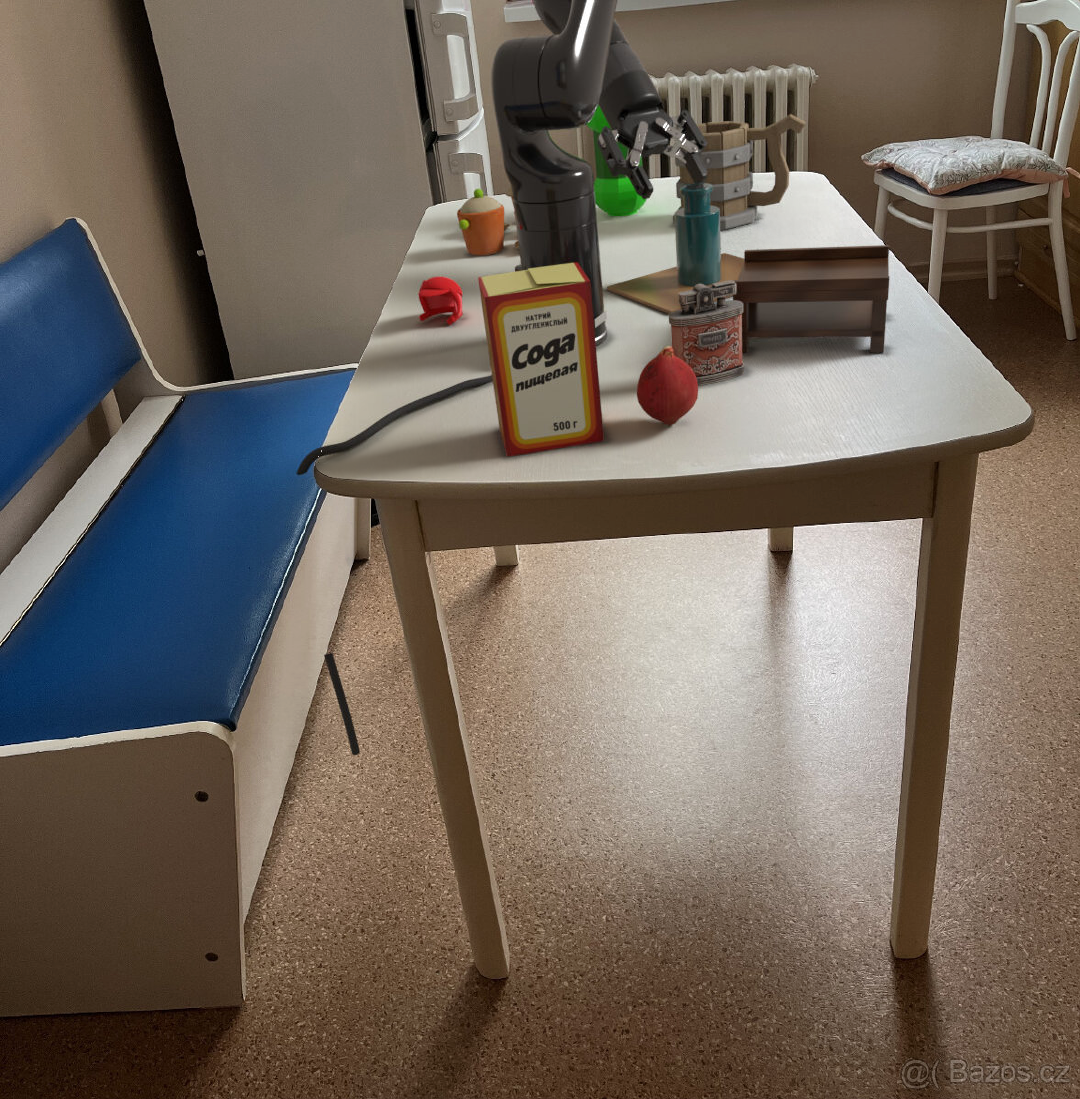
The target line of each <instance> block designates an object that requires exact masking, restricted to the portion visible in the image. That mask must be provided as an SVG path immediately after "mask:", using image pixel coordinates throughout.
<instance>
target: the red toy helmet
mask: <svg viewBox="0 0 1080 1099" xmlns="http://www.w3.org/2000/svg"><path fill="white" fill-rule="evenodd" d="M417 295H418V301H419V303H420V305H421V308H422V310H423V313H421V314H420V315H419V318H418V319H419V321H420V322H423V321H425V320H426V321H427V320H428V319H429V318H431V317H434V316H436V315H442V314H449V313H451V315H450V316H449V317H448V318H447V320H446V323H447V324H448V325H450V326H451V325H453V323H456V321H458V320H459V319H461V317H462V316H463V314H464V310H463V290H462V287H461V286H460V285H459V284H458V283H457V282H456V281H455V280H454V279H451V278H449V277H446V276H433V277H430V278H428V279H426V280H423V281H422V283H421V286H420V287H419V290H418V294H417Z"/></svg>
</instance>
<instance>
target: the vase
mask: <svg viewBox="0 0 1080 1099" xmlns="http://www.w3.org/2000/svg"><path fill="white" fill-rule="evenodd" d="M712 191H713V185H712V184H708V183H696V184H689V185H685V186H682V187H681V188H680V194H682V195H683V201H684V208H682V209H679V208H678V209H679V210H678V209H677V210H676V211H675V212H674V214H675V225H674V231H675V253H676V254H675V256H676V267H677V281H678V283H679V284H682V285H685V286H695V285H696V284H703V285H710V284H714V283H716V282H718V281H720V280H721V254H722V247H721V246H722V243H721V241H722V240H721V239H722V238H721V230H720V209H719V208H718V207H715V206H710V193H711V192H712Z"/></svg>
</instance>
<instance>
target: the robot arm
mask: <svg viewBox="0 0 1080 1099" xmlns="http://www.w3.org/2000/svg"><path fill="white" fill-rule="evenodd" d="M532 1H533V6H534V8H535V11H536V14H537V15H538V18H539V19H540V20H541V22H542V23H543V24H544V26H545V27H546V28H547V29H548V30H549V31H550V33H552V34H544V35H531V36H520V37H512V38H508V39H506V40H504V41H503V42H501V44H499V46H498V47H497V49H496V51H495V53H494V56H493V59H492V60H493V61H492V64H491V65H492V66H491V78H490V79H491V82H490V84H491V94H492V95H491V96H492V103H493V110H494V117H495V121H496V127H497V132H498V137H499V144H500V148H501V155H502V157H501V158H502V162H503V167H504V171H505V175H506V178H507V179H508V183H509V184H510V187H511V188H512V195H513V202H514V206H513V210H514V211H515V214H514V217H515V227H516V236H517V241H518V244H519V249H518V251H519V259H520V263H519V264H517V265H515V266H514V272H517V271H523V270H528V269H529V268H537V267H545V266H552V265H560V264H568V263H575V262H578V264H579V265H580V267H581V268H582V270H583V271H584V273H585V274H586V276H587V277H588V279H589V280H590V285H591V296H592V308H593V319H594V331H595V342H596V347H597V346H599V345H601V344H602V343H604V342H605V341H606V340H607V338H608V330H607V326H606V320H607V319H608V316H607V310H605V302H604V291H603V290H604V289H603V278H602V277H603V276H602V266H601V264H602V263H601V253H600V252H601V251H600V241H599V239H600V238H599V227H598V217H597V216H598V215H597V205H596V201H595V190H594V182H595V179H594V171H593V167H592V165H591V164H590V163H589V162H588V161H587V160H585V159H583V158H581V157H578V156H576V155H575V154H572V153H570V152H568V151H565V150H564V149H563V148H561V147H560V146H559V145H558V144H557V143H556V142H554V140H553V139H552V137H551V135H550V132H549V131H562V130H563V131H568V130H575V129H580V128H581V129H582V128H583V127H585V126H587V125H586V124H588V123H589V122H590V120H591V119H592V117H593V116H594V114H595V111H596V109H597V106H598V105H599V107H600V109H601V110H602V112H603V114H604V116H605V118H606V120H607V122H608V124H609V126H610V127H611V129H612V130H611V129H610V128H609V127H603V129H602V131H601V133H600V136H599V138H598V140H597V144H598V146H599V148H600V151H601V153H602V155H603V157H604V159H605V162H606V164H607V166H608V168H609V170H610V173H611V174H612V175H613V176H615V177H617V176H618V175H619V174H621V175H625V176H626V177H627V178H629V179H630V181H631V183H632V185H633V187H634V189H635V191H636V193H637V194H638V195H639V196H642V198H643V199H647V200H648V199H650V198H651V196H652V194H653V193H654V185H653V184H652V182H651V181H650V178H649V176H648V174H647V173H646V171H645V169H644V167H643V165H642V166H638V165H639V161H640V157H641V156H642V159H645V158H649V157H651V156H653V155H662V154H665V155H667V157H670V158H675V157H677V158H678V159H680V160H681V161H683V162H684V163H686V164H685V167H686V168H687V170H688V172H689V174H690V176H691V178H692V180H693V181H694V183H695V184H696V183H704V182H705V180H706V179H707V174H708V172H707V169H706V167H705V165H704V164H703V162H702V160H701V158H700V155H701V153H702V151H703V150H704V148H705V147H706V145H707V141H706V139H705V138H704V136H703V134H702V133H701V131H700V129H699V128H698V126H697V122H696V121H695V120H694V118H693V117H692V114H691V113H690V112H689V111H688V110H687V109H683V110H681V112H680V113H679V115H675V116H672V117H671V116H670V115H669V114H667V112H666V111H665V109H664V105H663V100H662V97H661V96H660V94H659V92H658V89H657V88H656V86H655V85H654V83H653V81H652V79H651V77H650V75H649V73H648V71H647V70H646V68H645V66H644V64H643V62H642V61H641V59H640V57H639V56H638V55H637V53H636V52H635V51H634V49H633V48H632V46H631V45H630V43H629V41H628V39H627V37H626V35H625V33H624V32H623V30H622V28H621V26H620V25H619V23H618V22H617V20H616V19H615V15H616V9H617V4H618V0H532ZM694 139H695V140H694ZM671 140H673V141H674V144H673V145H670V143H671ZM695 141H696V142H695ZM617 142H619V143H620V144H622V145H623V146H625V147H627V148H628V153H627V158H626V160H625V159H624V157H623V155H622V152H621V150H620V148H619V146H618V144H617ZM680 147H682V148H683V149H685V150H687V152H684V151H683V150H681V149H680ZM513 202H512V203H513ZM514 211H513V212H514ZM489 383H493V379H492V374H490V375H486V376H482V377H476V378H471V379H468V380H464V381H462V382H458V383H456V384H454V385H451V386H449V387H446V388H444V389H441V390H439V391H436V392H433V393H431V394H428V395H425V396H423V397H421V398H418V399H416V400H414V401H411V402H409V403H407V404H405V405H402V406H401V407H398V408H396V409H395V410H392V411H391V412H389V413H387V414H386V415H384V416H383V417H381V418H380V419H378V420H377V421H376V422H374V423H372V425H370V426H369V427H367V428H366V429H364V430H363V431H361V432H359V433H358V434H356V435H355V436H353V437H351V438H349V439H347V440H345V441H342V442H338V443H333V444H328V445H323V446H320V447H317V448H315V449H313V450H312V451H310V452H309V453H308V454H307V455H306V456H305V457H304V458H303V459H302V461H301V462H300V464H299V466H298V468H297V470H296V475H297V476H301V475H304V474H306V473H308V471H309V469H310V468H311V466H312V465H313V463H315V461H317V460H319V459H321V458H323V457H326V456H330V455H335V454H340V453H343V452H346V451H350V450H351V449H353V448H355V447H357V446H359V445H360V444H363V443H364V442H366V441H367V440H369V439H370V438H372V437H373V436H374V435H376V434H377V433H379V431H381V430H382V429H383V428H385V427H387V426H389V425H390V424H391V423H393V422H394V421H396V420H398V419H400V418H401V417H404V416H406V415H408V414H410V413H412V412H414V411H416V410H419V409H421V408H423V407H426V406H429V405H431V404H433V403H435V402H439V401H442V400H444V399H447V398H449V397H452V396H454V395H456V394H460V393H461V392H463V391H467V390H469V389H473V388H478V387H481V386H484V385H487V384H489ZM321 450H322V452H321ZM318 456H319V457H318ZM323 657H324V660H325V664H326V667H327V670H328V673H329V677H330V680H331V684H332V686H333V689H334V694H335V697H336V699H337V700H336V701H337V703H338V706H339V709H340V710H339V711H340V713H341V716H342V720H343V723H344V727H345V731H346V735H347V740H348V743H349V748H350V751H351V754H352V756H358V755H359V754H361V751H360V750H361V749H360V746H359V742H358V737H357V734H356V730H355V725H354V722H353V718H352V714H351V711H350V707H349V704H348V700H347V696H346V694H345V690H344V687H343V683H342V680H341V676H340V674H339V670H338V667H337V663H336V661H335V656H334V653H333V652H329V653H325V654H324V655H323Z"/></svg>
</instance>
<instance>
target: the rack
mask: <svg viewBox="0 0 1080 1099" xmlns="http://www.w3.org/2000/svg"><path fill="white" fill-rule="evenodd" d="M889 255H890V245H889V244H884V245H883V244H881V245H880V244H879V245H854V246H852V245H851V246H824V247H823V246H822V247H793V248H792V247H791V248H769V249H768V248H765V249H764V248H761V249H744V252H743V258H744V261H745V262H744V265H743V267H742V270H741V273H740V275H739V278H738V280H733V281H734V283H736V294H734V295H733V296H732V300H737V301H741V302H743V312H742V354H748V352H749V349H750V347H749V344H750V343H749V339H784V338H785V339H786V338H787V339H789V338H791V339H792V338H793V339H794V338H796V339H797V338H798V339H799V338H800V339H801V338H805V339H806V338H870V344H869V353H870V354H873V353H874V354H883V353H885V340H886V338H885V337H886V324H887V322H886V321H887V308H888V307H887V306H888V300H889V292H890V274H889V273H890V270H889V269H890V268H889V267H890V266H889V263H890V262H889V260H890V258H889V257H890V256H889Z"/></svg>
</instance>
